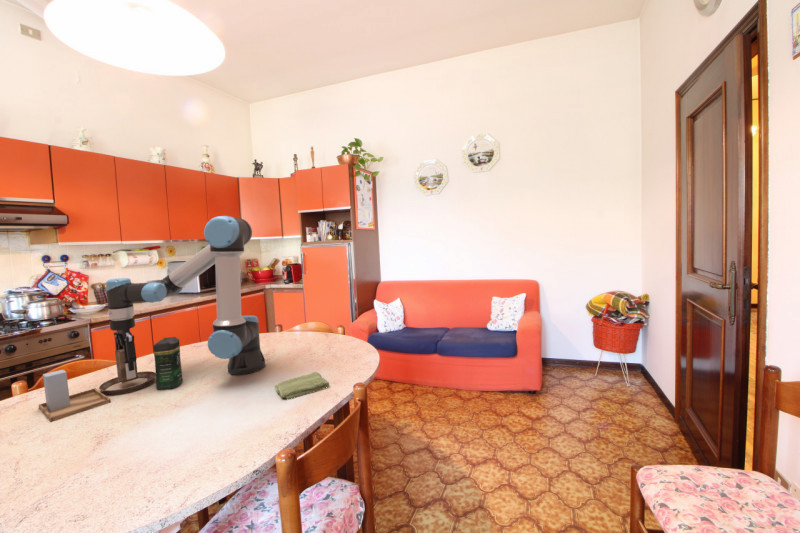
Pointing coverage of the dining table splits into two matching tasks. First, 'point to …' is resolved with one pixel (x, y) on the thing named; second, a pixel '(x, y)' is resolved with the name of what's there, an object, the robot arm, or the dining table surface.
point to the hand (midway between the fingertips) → (128, 376)
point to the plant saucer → (107, 384)
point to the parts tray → (77, 404)
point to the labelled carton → (123, 367)
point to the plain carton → (56, 390)
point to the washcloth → (301, 385)
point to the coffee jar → (167, 363)
